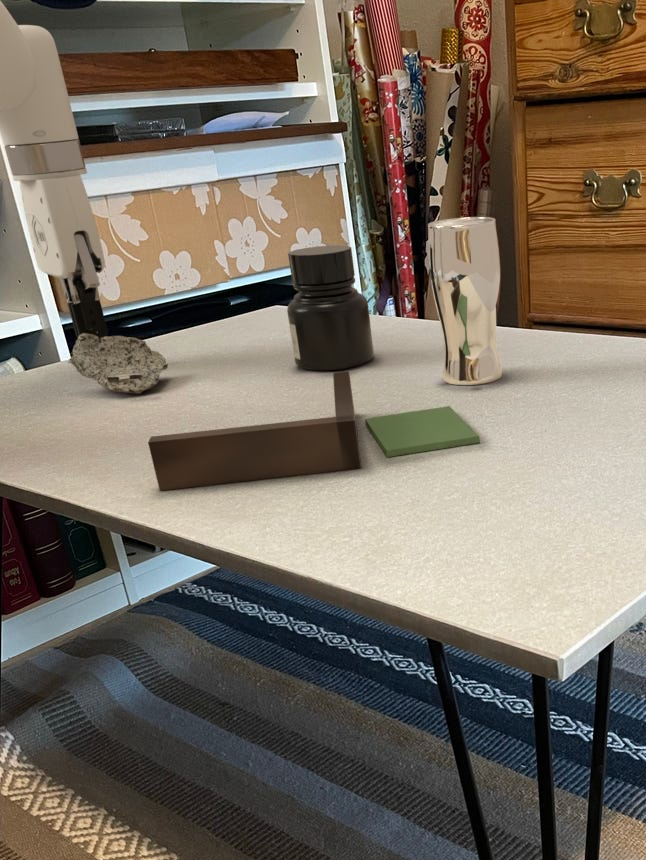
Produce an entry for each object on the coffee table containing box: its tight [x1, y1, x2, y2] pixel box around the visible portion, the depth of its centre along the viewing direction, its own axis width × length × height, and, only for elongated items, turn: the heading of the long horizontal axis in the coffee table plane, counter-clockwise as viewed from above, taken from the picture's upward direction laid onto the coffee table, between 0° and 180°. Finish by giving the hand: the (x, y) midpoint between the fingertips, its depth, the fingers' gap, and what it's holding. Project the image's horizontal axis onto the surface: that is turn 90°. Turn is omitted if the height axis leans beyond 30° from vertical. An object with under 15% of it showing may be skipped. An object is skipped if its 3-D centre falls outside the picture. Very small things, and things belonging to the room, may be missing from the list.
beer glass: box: [427, 216, 503, 386], centre depth 98 cm, size 7×7×15 cm
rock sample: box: [67, 332, 169, 395], centre depth 106 cm, size 10×8×9 cm
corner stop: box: [147, 370, 362, 492], centre depth 84 cm, size 16×16×4 cm
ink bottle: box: [286, 244, 375, 371], centre depth 108 cm, size 10×9×12 cm
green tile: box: [364, 405, 481, 458], centre depth 86 cm, size 8×10×1 cm
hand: (92, 336), depth 114 cm, fingers closed
